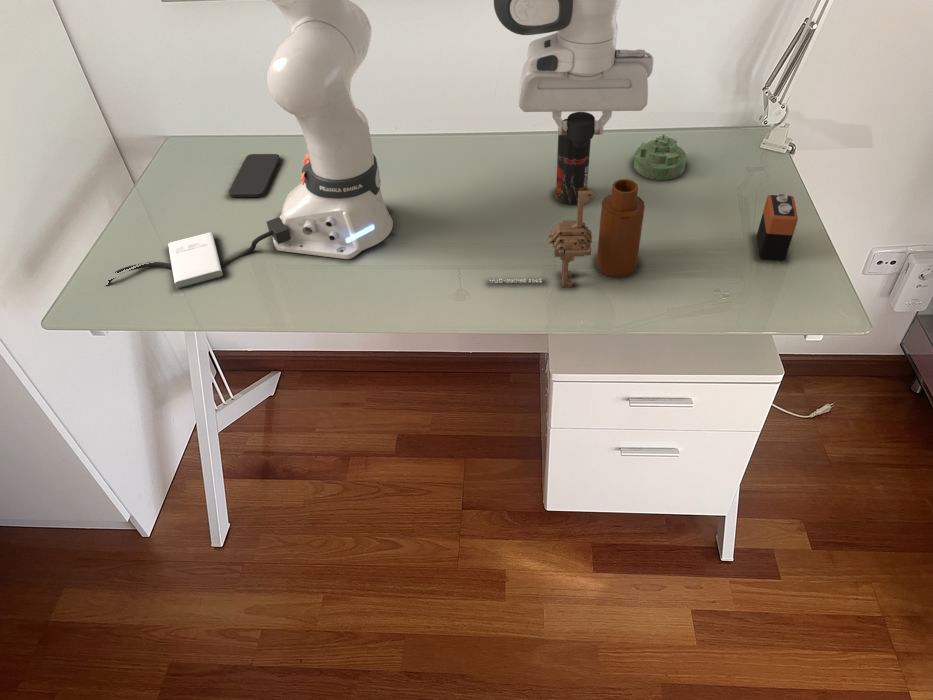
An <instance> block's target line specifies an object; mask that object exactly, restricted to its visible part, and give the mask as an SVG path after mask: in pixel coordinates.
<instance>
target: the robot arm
mask: <svg viewBox="0 0 933 700" xmlns="http://www.w3.org/2000/svg"><path fill="white" fill-rule="evenodd" d="M267 1H269V2H271V3H273V4H274V5H275V6H276V7H277V9H279V11H280V12H281V14H282V15H283V16H284V19H286V22H287V23H288V25H289V28H290V32H291V33H290V34H289V36H288V37H287V38H286V39H285V40H284V41H282V43H281V44H280V45H279V46H278V48H277V49H276V50H275V53H274V54H273V57H272V59H271V62H270V65H269V67H268V69H267V74H266V85H267V88H268V91H269V93H270V96H271V97H272V99H273V100H274V101H275V102H276V104H277V105H278V106H279V107H280V108H281V109H283V110H284V111H286V113H289V114H291V115H294V117H295V118H296V121H297V122H298V124H299V126H300V129H301V131H302V134H303V137H304V141H305V146H306V149H307V153H306V154H305V156H304V158H303V166H302V169H301V176H300V180H301V182H300V183H299V184H298V185H296V186H294V188H292V189H291V190H290V192H289V193H288V194H287V196H286V198H285V200H284V202H283V205H282V208H281V209H282V210H281V214H280V215H279V216H278V217H277V216H276V217H275V218H273V219H269V220H267V221H266V226H267V229H268V231H266V232H265V233H262V234H260V235H259V236H257V237H255V238H254V239H253V240H252V241H251V245H250V247H249V248H247V249H245V250H244V251H243V252H241V253H240V254H239V255H236V256H234V257H232V258H230V259H227V260H225V261H222V262H220V266H221V268H223V267H226V266H227V265H229V264H231V263H233V262H235V261H236V260H239V259H240V258H243V257H245V256H248V255H249V254H251V253H252V252H253V251H254V250H255V249H256V247H257V244H258V243H259V242H261V241H263V240H265V239H267V238H269V237H271V236H272V241H273V242H272V243H273V246H274V248H275V249H276V250H277V251H280V252H285V253H292V254H301V255H309V256H310V255H311V256H318V257H326V258H332V259H333V258H334V259H342V260H351V259H353V258H355V257H356V256H358V255H359V254H360V253H361V252H362V251H365V250H367V249H369V248H372V247H374V246H377V245H378V244H380V243H381V242H383V241H384V240H385V239H386V238H388V236H389V235H391V232H392V230H393V226H394V221H393V218H392V217H391V215H390V213H389V210H388V208H387V206H386V203H385V200H384V198H383V194H382V190H381V184H382V183H381V174H380V168H379V166H378V161H377V157H376V155H375V153H374V150H373V144H372V138H371V133H370V125H369V121H368V117H367V116H366V114H365V113H364V112H363V111H362V110H361V109H359V108H357V107H356V105H355V102H354V100H353V97H352V94H351V93H352V92H351V86H352V85H351V84H352V80H353V76H354V75H355V73H356V72H357V70H359V68H360V67H361V65H362V63H363V62H364V61H365V60H366V58H367V55H368V51H369V48H370V44H371V41H372V32H373V31H372V25H371V22H370V19H369V18H368V15H367V14H366V12H365V11H364V10H363V9H362V7H360V6H359V5H358V4H356V3H355V2H353V1H352V0H267ZM620 5H621V0H493V9H494V12H495V15H496V17H497V19H498V21H499V22H500V24H501V25H502V26H503V27H504V28H505V29H506V30H508V31H510V32H512V33H513V34H516V35H519V36H534V35H543V34H549V35H546V36H543V37H539V38H537V39H534V40H531V41H530V43H529V45H528V47H527V60H525V63H524V65H523V66H522V70H521V75H520V79H519V80H520V81H519V91H518V107H519V108H520V110H521V111H522V112H524V113H551V115H552V119H553V120H554V122H555V124H556V125H557V133H558V134H557V136H558V135H567V130H568V125H567V121H562V120H563V118H562V112H563V113H565V112H567V113H568V112H569V113H575V112H601V113H602V114H601V116H600V117H599V119H598V120H597V119H595V124H594V134H593V136H595V135H596V136H598V135H599V136H601V135H602V136H603V135H604V126H606V124H607V123H608V122H609V121H610V119H611V118H612V115H613V114H612V113H613V112H640V111H643V110H644V109H645V108H646V106H647V105H648V99H649V77H650V76H651V75H652V73H653V72H654V71H653V70H654V65H655V60H654V56H653V55H652V54H651V53H649V52H646V50H645V49H642V48H641V49H634V50H633V49H632V50H631V49H616V48H617V39H618V23H617V14H618V10H619V7H620ZM550 33H551V34H550ZM150 262H151V261H150ZM150 262H149V261H148V263H149V264H144V265H141V266H139V267H136V268H134V269H131V270H129V271H128V272H130V271H134V270H140V269H145V268H152V267H159V268H161V267H162V268H167V269H171V270H172V265H171V263H168V262H163V261H153V262H154V263H150ZM137 264H138V265H139V264H140V263H137ZM137 264H132V265H127V266H124V267H122V268H120V269H118V270H116V271H114V272H115V273H116V272H117V273H119V272H121V271H123V270H124V269H125V270H126V269H129V268H131V267H133V266H136V265H137ZM114 279H115V278H113V279H111V280H108V281H109V283H108V284H109V285H110V284H111V283H112V282H113V280H114ZM109 285H106V286H105V287H108V286H109Z"/></svg>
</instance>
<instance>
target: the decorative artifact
mask: <svg viewBox="0 0 933 700" xmlns="http://www.w3.org/2000/svg"><path fill="white" fill-rule="evenodd" d="M677 142H678V141H677V140H676V139H674V138H671V137H669V136H666V135H665V134H662V135H661V136H658V137H656V138H654V139H652V140H649V141H647V142H643V141H642V142H641V144H640V146H639V147H637V149H636V150H635V152H634V158H633V169H634V170H635V172H636V173H637V174H639V175H640V176H642V177H644V178H647V179H650V180H656V181H668V180H673V179H675V178H678V177H679V176H681V175H682V174H683V173H684V171H685V167H686V163H687V162H686V161H687V153H686V152H685V150H684V149H683V148H682V147H680V146H678V144H677Z"/></svg>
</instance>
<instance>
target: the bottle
mask: <svg viewBox="0 0 933 700" xmlns="http://www.w3.org/2000/svg"><path fill="white" fill-rule="evenodd" d="M638 193H639V184H638V182H636V181H635V180H633V179H630V178H629V179H628V178H620V179H618V180H614V182H613V183H612V185H611V194H608V195H606V197H604V198H603V199H602V201H601V209H600V219H599V231H598V241H597V253H596V267H597V268H598V270H599V271H600V272H601V273H603V274H605V275H607V276H610V277H615V278H616V277H625V276H628V275H631V274H632V273H634V271H635V270H636V269H637V265H638V257H639V251H640V243H641V236H642V230H643V222H644V217H645V216H644V215H645V207H646V206H645V201H644V200H643V199H642V198H641V197H640V196H638Z"/></svg>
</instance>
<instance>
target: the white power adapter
mask: <svg viewBox="0 0 933 700" xmlns="http://www.w3.org/2000/svg"><path fill="white" fill-rule="evenodd" d="M167 245H168V252H169V259H170V264H171V265H172V269H171V270H172V276H173V281H174V285H175V287H176V289H181V288H186V287H189V286H192V285H196V284H200V283H204V282H208V281H212V280H215V279H217V278H221V277H223V276H224V274H223V270H222V267H221V266H220V263H221V262H220V259H219V254H218V250H217V246H216V242H215V238H214V235H213V232H205V233H202V234H198V235H193V236H191V237H186V238H183V239H178V240H175V241H170V242H168V244H167Z"/></svg>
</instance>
